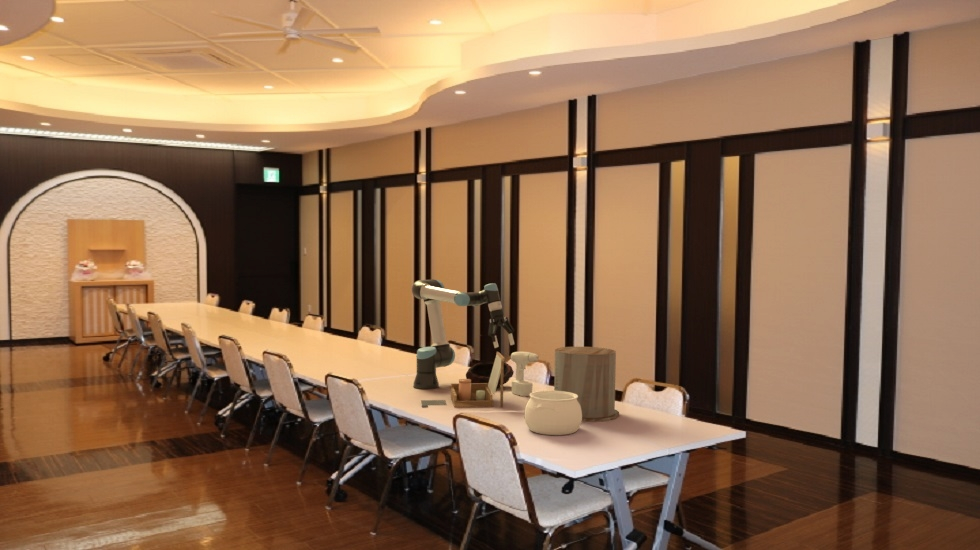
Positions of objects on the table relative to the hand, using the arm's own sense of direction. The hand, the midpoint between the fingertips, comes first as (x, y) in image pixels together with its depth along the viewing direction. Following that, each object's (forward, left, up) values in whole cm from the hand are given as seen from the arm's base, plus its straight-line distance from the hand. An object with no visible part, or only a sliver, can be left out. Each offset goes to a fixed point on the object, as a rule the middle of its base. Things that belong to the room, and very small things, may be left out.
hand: (504, 346), depth 425 cm
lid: (+25, -9, -11) cm, 29 cm away
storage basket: (+52, +34, -28) cm, 68 cm away
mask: (-23, -5, -28) cm, 36 cm away
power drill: (+2, +12, -28) cm, 30 cm away
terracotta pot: (+25, -25, -27) cm, 45 cm away
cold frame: (+26, -19, -28) cm, 43 cm away
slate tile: (+25, -41, -28) cm, 56 cm away
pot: (+84, +11, -28) cm, 90 cm away
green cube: (+25, -16, -27) cm, 40 cm away
